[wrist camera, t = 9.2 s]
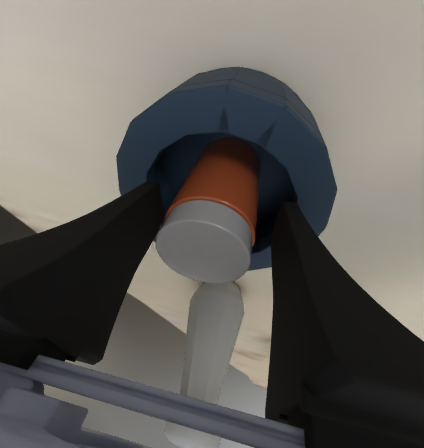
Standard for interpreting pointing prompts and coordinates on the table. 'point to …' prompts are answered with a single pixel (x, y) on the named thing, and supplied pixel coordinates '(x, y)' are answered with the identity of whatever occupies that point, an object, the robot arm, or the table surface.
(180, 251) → the shaker
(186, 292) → the table surface
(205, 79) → the dark blue bowl
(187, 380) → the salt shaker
